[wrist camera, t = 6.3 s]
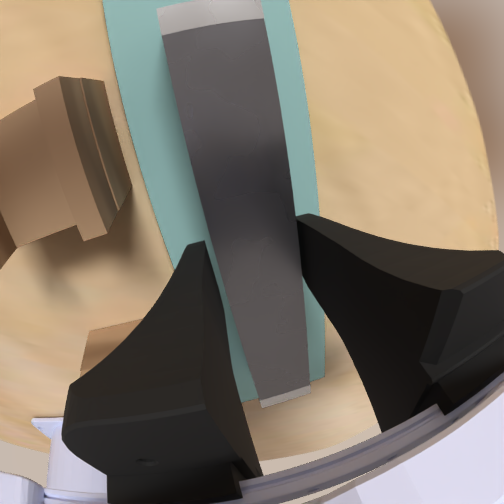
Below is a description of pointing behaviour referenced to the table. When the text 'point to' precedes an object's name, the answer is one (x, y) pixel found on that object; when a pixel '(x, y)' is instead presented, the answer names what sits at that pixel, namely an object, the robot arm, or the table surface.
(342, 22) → the table surface
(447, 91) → the table surface
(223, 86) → the rail
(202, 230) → the mat
